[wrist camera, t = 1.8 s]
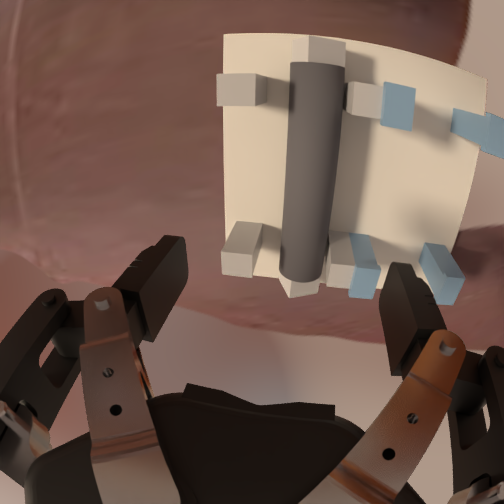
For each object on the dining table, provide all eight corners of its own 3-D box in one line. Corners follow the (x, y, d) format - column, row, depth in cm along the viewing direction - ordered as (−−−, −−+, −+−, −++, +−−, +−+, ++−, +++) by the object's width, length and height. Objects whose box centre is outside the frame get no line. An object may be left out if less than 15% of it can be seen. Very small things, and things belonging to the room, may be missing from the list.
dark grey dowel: (282, 40, 16) (304, 33, 13) (329, 46, 17) (356, 43, 14) (272, 277, 26) (285, 303, 24) (308, 271, 27) (325, 295, 24)
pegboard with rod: (226, 36, 18) (197, 20, 12) (482, 79, 15) (527, 84, 9) (229, 267, 29) (210, 311, 24) (432, 288, 26) (450, 333, 21)
